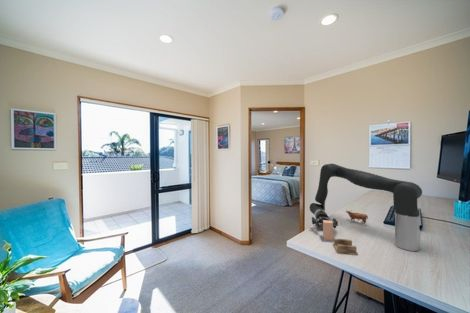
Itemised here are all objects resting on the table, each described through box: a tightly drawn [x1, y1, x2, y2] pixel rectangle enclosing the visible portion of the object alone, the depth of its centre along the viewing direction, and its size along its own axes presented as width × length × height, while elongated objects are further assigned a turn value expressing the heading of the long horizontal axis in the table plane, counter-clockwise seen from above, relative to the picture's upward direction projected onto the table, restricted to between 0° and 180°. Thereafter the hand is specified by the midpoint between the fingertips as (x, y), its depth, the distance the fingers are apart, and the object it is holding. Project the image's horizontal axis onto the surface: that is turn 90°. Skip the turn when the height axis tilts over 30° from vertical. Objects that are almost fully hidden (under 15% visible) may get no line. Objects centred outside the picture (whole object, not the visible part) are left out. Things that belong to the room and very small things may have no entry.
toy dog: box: [345, 208, 369, 226], centre depth 128 cm, size 4×13×8 cm, turn 37°
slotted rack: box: [332, 238, 359, 256], centre depth 95 cm, size 9×8×4 cm
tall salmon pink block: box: [322, 220, 334, 241], centre depth 106 cm, size 4×4×10 cm
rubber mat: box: [319, 234, 336, 244], centre depth 106 cm, size 8×8×1 cm
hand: (326, 226), depth 109 cm, fingers open, 8 cm apart
